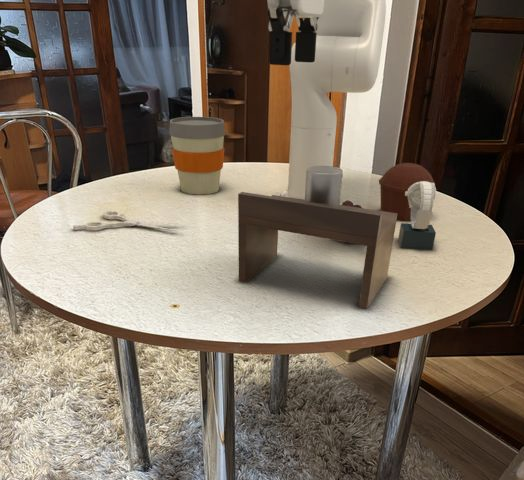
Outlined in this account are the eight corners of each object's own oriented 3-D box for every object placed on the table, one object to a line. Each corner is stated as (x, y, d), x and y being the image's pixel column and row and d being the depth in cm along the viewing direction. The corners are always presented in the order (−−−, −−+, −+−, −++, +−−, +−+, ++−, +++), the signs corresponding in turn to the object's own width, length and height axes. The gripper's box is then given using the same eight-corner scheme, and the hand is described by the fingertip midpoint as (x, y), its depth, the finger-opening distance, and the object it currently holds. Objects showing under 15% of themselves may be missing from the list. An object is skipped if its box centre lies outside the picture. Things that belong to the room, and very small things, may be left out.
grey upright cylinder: (311, 205, 77) (313, 164, 74) (342, 210, 75) (347, 168, 72) (298, 214, 73) (301, 171, 70) (332, 219, 71) (336, 175, 68)
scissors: (100, 209, 103) (193, 217, 100) (100, 213, 104) (193, 221, 100) (72, 226, 95) (173, 235, 91) (73, 230, 95) (174, 239, 91)
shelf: (270, 255, 87) (273, 175, 80) (387, 277, 80) (401, 192, 73) (238, 281, 78) (238, 193, 71) (366, 309, 71) (380, 215, 64)
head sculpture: (426, 237, 96) (438, 177, 90) (434, 253, 89) (447, 189, 83) (396, 236, 96) (406, 176, 90) (401, 251, 90) (412, 187, 84)
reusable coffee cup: (162, 189, 120) (156, 120, 112) (200, 179, 129) (198, 114, 121) (199, 199, 114) (195, 127, 106) (237, 189, 122) (237, 121, 114)
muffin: (381, 203, 114) (388, 156, 109) (432, 210, 111) (441, 162, 105) (369, 218, 105) (375, 167, 100) (423, 226, 101) (433, 174, 96)
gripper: (302, -101, 59) (294, 67, 68) (346, -76, 73) (334, 62, 82) (244, -97, 62) (244, 64, 71) (297, -73, 75) (291, 60, 84)
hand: (292, 63), depth 76 cm, fingers open, 9 cm apart
